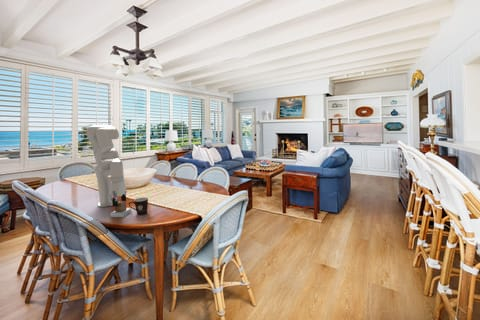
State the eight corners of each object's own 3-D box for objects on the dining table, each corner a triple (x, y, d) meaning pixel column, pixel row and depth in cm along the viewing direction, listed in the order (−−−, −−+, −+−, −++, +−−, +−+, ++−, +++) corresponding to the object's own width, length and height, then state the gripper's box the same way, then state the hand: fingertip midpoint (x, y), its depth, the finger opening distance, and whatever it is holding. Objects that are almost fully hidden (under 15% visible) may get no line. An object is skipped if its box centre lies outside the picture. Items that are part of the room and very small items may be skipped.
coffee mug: (151, 211, 156) (150, 197, 155) (143, 216, 148) (142, 201, 147) (137, 210, 160) (136, 196, 158) (128, 215, 152) (127, 200, 150)
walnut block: (115, 211, 150) (114, 203, 149) (119, 209, 155) (118, 200, 154) (122, 211, 150) (121, 203, 149) (126, 209, 155) (125, 200, 154)
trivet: (110, 216, 149) (110, 213, 148) (118, 211, 158) (118, 208, 157) (123, 217, 148) (123, 213, 148) (131, 211, 157) (130, 208, 157)
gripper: (119, 175, 158) (121, 199, 161) (103, 182, 141) (106, 208, 144) (130, 176, 158) (132, 199, 161) (115, 182, 141) (117, 208, 144)
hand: (119, 203), depth 152 cm, fingers open, 9 cm apart
